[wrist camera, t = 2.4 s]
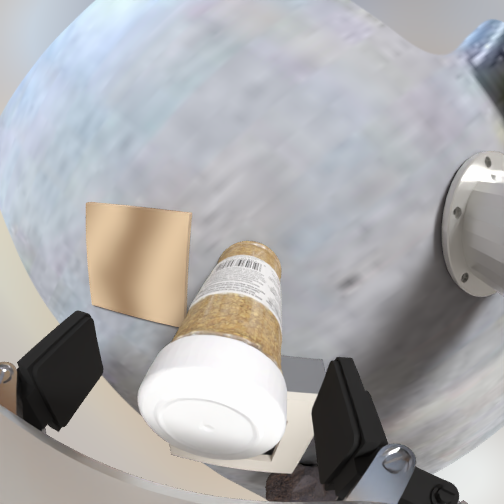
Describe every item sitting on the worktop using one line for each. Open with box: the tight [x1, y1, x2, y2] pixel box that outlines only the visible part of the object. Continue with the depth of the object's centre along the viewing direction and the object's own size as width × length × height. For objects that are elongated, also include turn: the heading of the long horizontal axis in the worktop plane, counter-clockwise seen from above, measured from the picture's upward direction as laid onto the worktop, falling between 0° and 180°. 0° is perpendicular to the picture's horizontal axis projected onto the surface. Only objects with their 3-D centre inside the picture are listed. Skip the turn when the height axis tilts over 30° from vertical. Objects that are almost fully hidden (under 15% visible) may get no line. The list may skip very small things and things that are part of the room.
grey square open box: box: [169, 356, 326, 474], centre depth 21 cm, size 12×12×5 cm
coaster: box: [86, 202, 192, 327], centre depth 20 cm, size 9×9×1 cm
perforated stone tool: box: [265, 463, 337, 502], centre depth 24 cm, size 15×5×7 cm, turn 55°
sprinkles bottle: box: [137, 241, 287, 460], centre depth 13 cm, size 5×5×13 cm
